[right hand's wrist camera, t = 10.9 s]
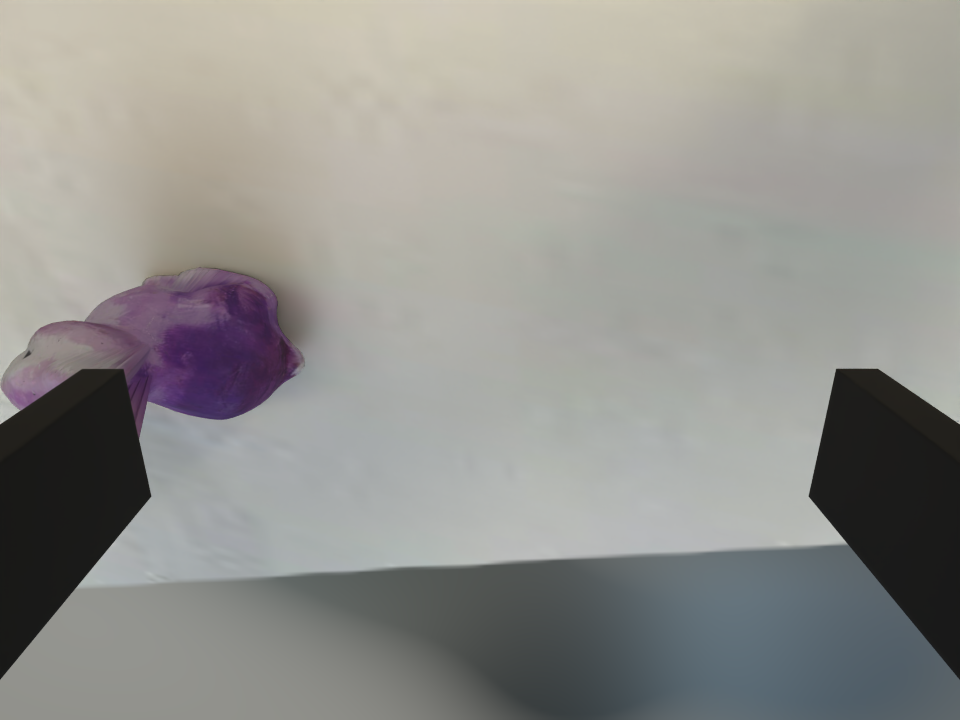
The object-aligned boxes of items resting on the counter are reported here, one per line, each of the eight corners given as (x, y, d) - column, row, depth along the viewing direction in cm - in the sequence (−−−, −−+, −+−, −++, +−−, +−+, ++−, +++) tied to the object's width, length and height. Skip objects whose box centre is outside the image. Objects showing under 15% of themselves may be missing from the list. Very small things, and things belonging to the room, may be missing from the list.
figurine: (94, 299, 40) (-108, 406, 26) (235, 223, 38) (99, 294, 25) (187, 423, 43) (50, 577, 29) (320, 358, 42) (243, 488, 28)
